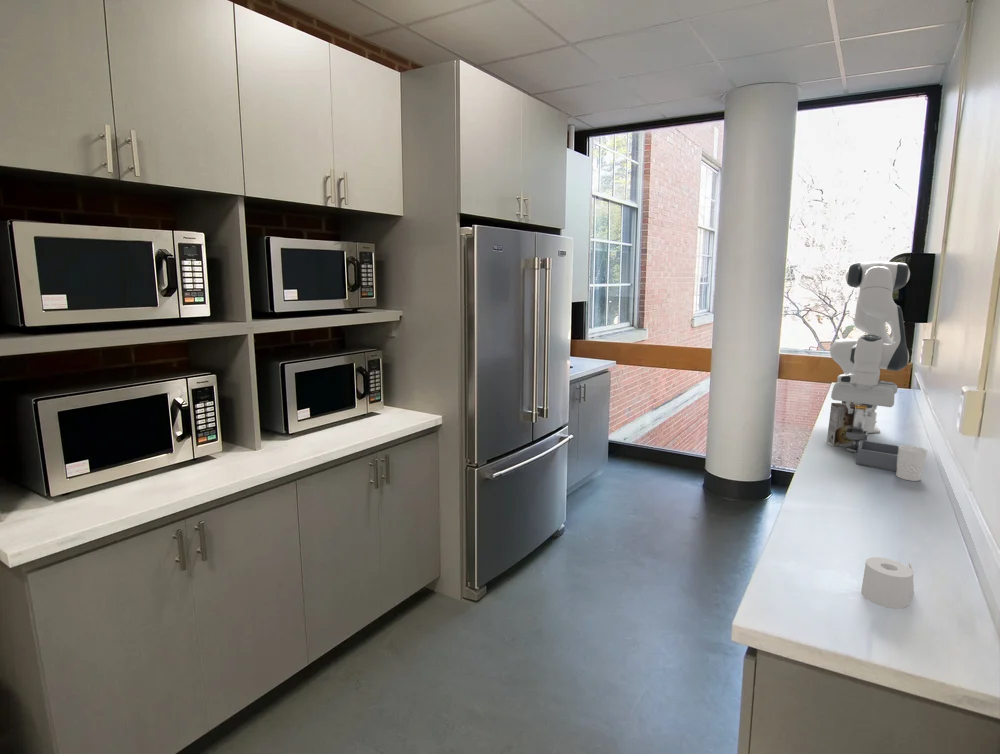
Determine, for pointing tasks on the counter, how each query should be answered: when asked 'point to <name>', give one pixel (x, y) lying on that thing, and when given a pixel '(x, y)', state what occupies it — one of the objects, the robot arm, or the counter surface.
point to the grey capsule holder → (855, 440)
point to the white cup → (910, 462)
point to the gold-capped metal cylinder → (859, 419)
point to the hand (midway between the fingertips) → (859, 414)
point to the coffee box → (840, 424)
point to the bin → (877, 455)
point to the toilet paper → (888, 582)
